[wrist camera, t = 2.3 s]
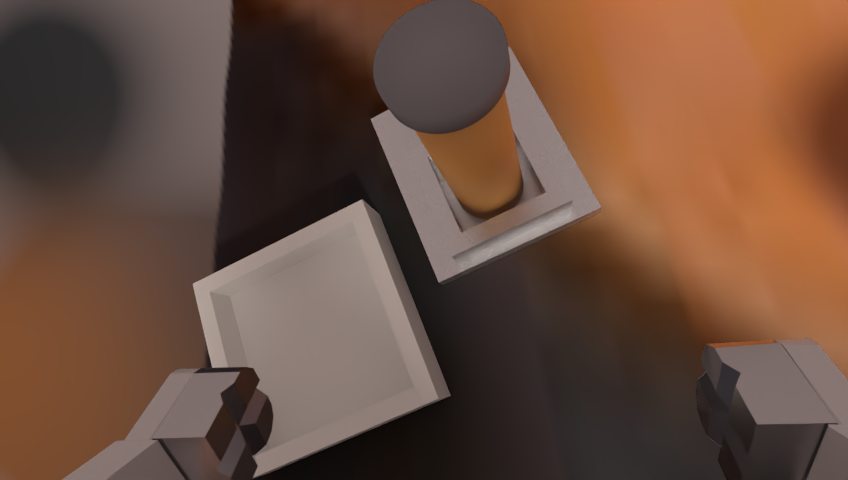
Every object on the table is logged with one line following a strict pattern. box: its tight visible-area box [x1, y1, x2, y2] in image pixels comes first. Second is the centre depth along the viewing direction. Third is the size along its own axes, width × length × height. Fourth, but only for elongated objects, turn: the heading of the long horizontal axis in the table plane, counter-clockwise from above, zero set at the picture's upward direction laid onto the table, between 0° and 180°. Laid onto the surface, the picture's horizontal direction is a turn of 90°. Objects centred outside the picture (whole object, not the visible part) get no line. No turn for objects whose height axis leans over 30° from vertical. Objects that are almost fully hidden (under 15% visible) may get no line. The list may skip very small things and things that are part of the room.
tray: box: [193, 200, 451, 479], centre depth 29 cm, size 12×12×3 cm
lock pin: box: [373, 0, 523, 219], centre depth 23 cm, size 5×5×13 cm
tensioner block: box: [371, 46, 601, 285], centre depth 29 cm, size 12×10×3 cm
